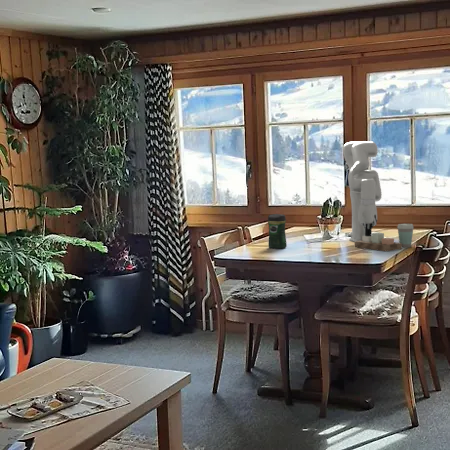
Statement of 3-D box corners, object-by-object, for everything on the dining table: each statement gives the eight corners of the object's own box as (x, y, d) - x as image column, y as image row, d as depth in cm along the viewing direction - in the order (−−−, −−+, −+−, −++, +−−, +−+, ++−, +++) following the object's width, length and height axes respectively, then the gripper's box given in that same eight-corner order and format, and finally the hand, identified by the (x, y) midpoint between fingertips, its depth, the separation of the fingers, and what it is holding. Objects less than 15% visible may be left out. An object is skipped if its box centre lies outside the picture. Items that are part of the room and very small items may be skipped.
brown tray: (355, 246, 362) (355, 241, 362) (370, 244, 369) (370, 239, 369) (385, 251, 344) (385, 245, 344) (401, 248, 351) (401, 243, 350)
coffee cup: (414, 247, 352) (414, 225, 351) (397, 247, 354) (397, 225, 353) (413, 245, 361) (413, 223, 359) (396, 245, 362) (396, 223, 361)
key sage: (371, 242, 357) (371, 233, 356) (377, 241, 359) (377, 232, 359) (378, 243, 353) (378, 234, 353) (383, 242, 356) (383, 233, 355)
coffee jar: (288, 247, 368) (288, 213, 365) (281, 249, 361) (280, 215, 359) (274, 246, 373) (273, 213, 371) (266, 248, 367) (265, 214, 365)
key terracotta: (381, 248, 351) (381, 238, 351) (387, 247, 354) (387, 237, 353) (388, 248, 348) (388, 239, 347) (394, 248, 350) (394, 238, 349)
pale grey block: (362, 245, 363) (362, 236, 362) (368, 244, 365) (368, 235, 365) (368, 246, 359) (368, 236, 359) (374, 245, 362) (374, 235, 361)
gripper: (353, 201, 364) (353, 235, 366) (373, 203, 351) (373, 237, 353) (363, 201, 368) (363, 234, 370) (383, 202, 355) (383, 236, 357)
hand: (368, 235), depth 361 cm, fingers closed
